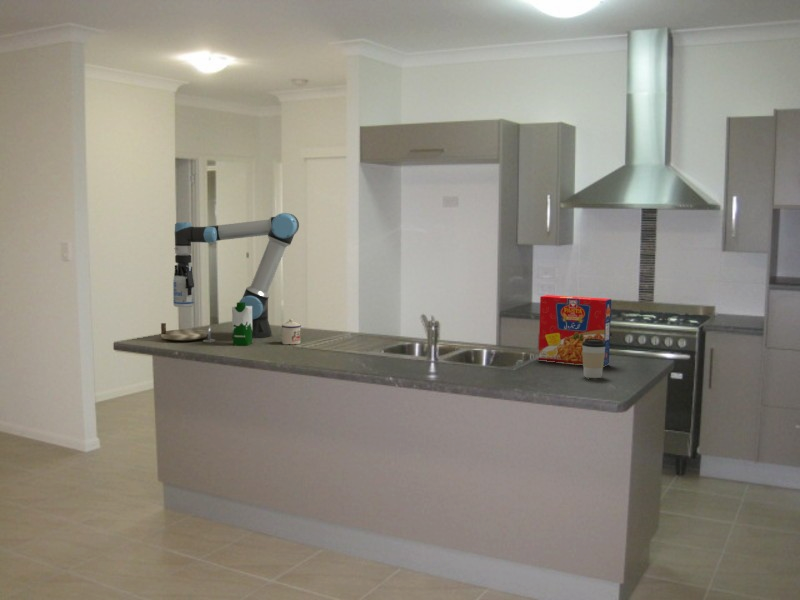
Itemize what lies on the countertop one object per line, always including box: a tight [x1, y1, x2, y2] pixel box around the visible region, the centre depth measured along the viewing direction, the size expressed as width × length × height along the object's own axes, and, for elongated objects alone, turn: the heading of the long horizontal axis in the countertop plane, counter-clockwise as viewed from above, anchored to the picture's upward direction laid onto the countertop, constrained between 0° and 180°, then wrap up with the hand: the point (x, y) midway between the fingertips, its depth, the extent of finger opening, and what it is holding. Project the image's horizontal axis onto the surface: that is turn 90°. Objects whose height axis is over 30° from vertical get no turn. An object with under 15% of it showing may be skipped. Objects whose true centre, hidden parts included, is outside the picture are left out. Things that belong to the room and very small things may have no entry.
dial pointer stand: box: [202, 326, 216, 343], centre depth 391 cm, size 5×4×7 cm
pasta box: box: [538, 294, 612, 366], centre depth 344 cm, size 28×8×28 cm, turn 60°
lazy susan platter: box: [160, 322, 207, 340], centre depth 396 cm, size 22×22×7 cm
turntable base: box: [169, 339, 200, 343], centre depth 397 cm, size 14×14×2 cm
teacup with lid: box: [281, 318, 302, 345], centre depth 389 cm, size 12×9×12 cm
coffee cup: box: [582, 339, 606, 378], centre depth 315 cm, size 9×9×15 cm
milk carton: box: [231, 301, 253, 347], centre depth 384 cm, size 9×9×20 cm
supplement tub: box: [172, 275, 195, 308], centre depth 394 cm, size 10×10×15 cm
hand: (183, 300), depth 395 cm, fingers closed on supplement tub, 10 cm apart
